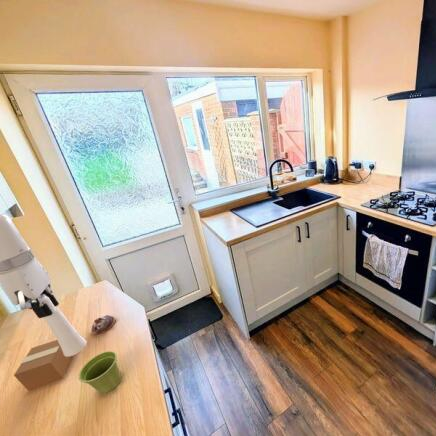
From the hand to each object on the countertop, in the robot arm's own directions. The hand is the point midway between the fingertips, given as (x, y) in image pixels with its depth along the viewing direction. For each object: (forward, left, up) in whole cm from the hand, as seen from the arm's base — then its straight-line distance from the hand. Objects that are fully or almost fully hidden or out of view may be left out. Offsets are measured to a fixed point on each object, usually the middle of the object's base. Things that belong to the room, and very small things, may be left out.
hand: (49, 310), depth 73 cm
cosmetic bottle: (0, 0, -17) cm, 17 cm away
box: (-10, +2, -24) cm, 26 cm away
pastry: (+1, +16, -24) cm, 30 cm away
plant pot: (+10, -12, -24) cm, 29 cm away
